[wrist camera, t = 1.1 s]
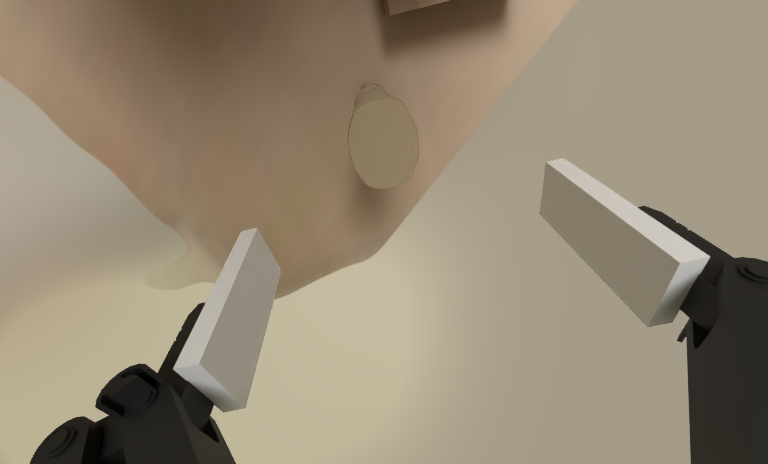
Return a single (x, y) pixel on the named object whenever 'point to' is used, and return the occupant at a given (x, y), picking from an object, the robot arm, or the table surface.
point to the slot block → (407, 5)
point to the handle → (382, 139)
